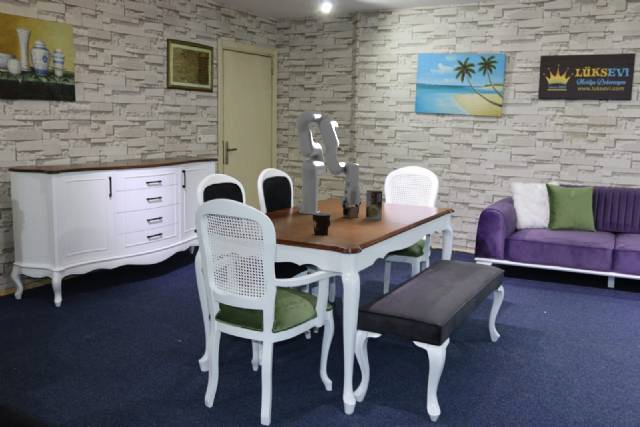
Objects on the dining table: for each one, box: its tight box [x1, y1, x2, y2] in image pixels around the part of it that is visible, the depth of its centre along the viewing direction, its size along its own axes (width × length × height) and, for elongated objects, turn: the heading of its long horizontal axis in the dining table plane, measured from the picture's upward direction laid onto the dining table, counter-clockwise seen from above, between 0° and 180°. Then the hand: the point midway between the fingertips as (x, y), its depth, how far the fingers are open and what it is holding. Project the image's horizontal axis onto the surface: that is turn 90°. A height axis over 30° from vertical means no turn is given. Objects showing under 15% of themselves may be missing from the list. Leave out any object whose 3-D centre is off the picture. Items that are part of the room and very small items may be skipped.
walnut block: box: [343, 205, 360, 219], centre depth 344 cm, size 6×6×6 cm
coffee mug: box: [312, 212, 331, 237], centre depth 284 cm, size 12×9×10 cm
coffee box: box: [365, 189, 383, 221], centre depth 339 cm, size 9×6×16 cm
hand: (351, 214), depth 344 cm, fingers open, 9 cm apart
